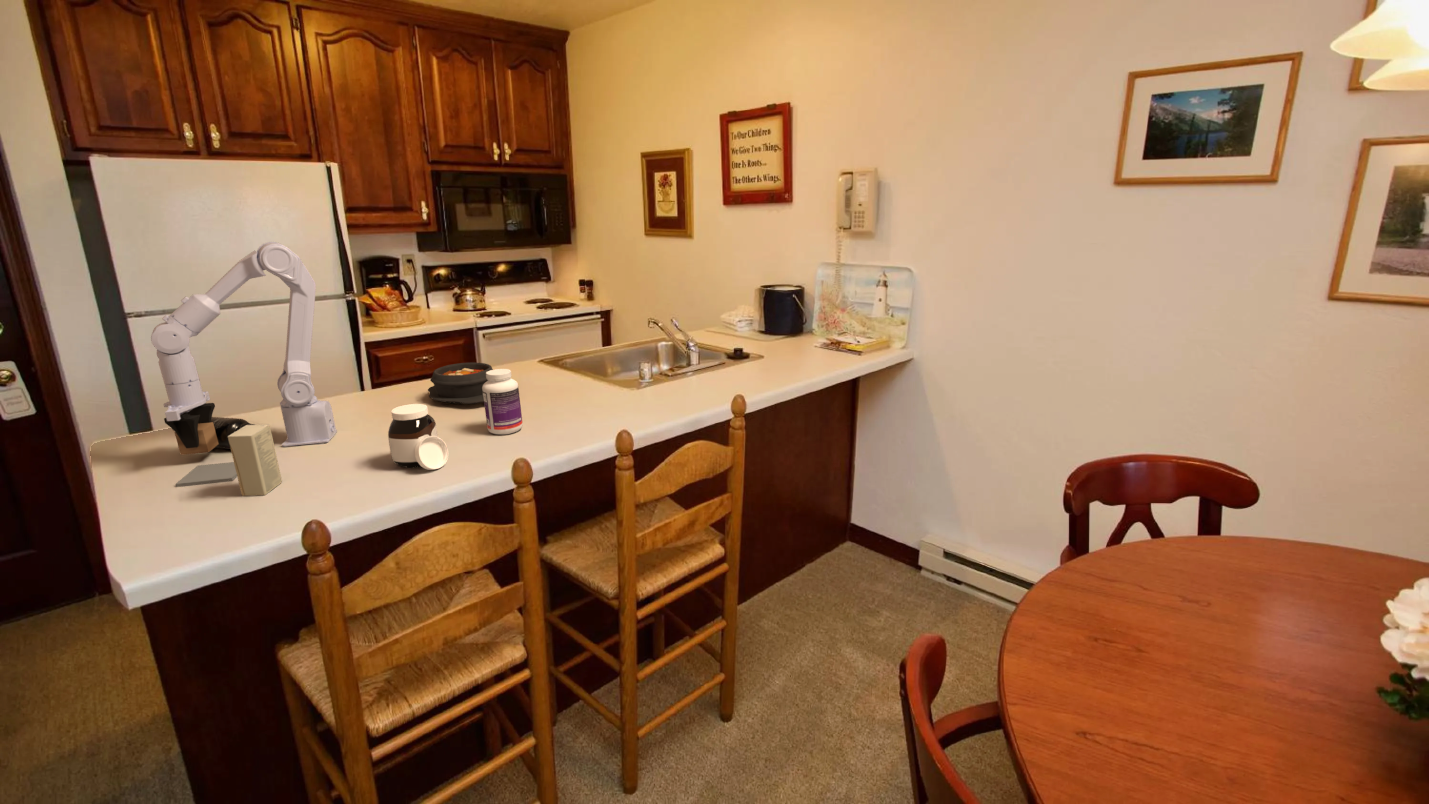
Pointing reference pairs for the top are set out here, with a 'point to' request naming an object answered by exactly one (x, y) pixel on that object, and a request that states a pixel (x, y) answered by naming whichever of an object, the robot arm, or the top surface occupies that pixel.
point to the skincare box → (255, 459)
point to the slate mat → (209, 474)
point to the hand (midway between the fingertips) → (198, 442)
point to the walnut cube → (201, 440)
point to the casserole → (459, 383)
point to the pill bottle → (502, 402)
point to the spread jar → (415, 438)
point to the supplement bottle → (227, 429)
